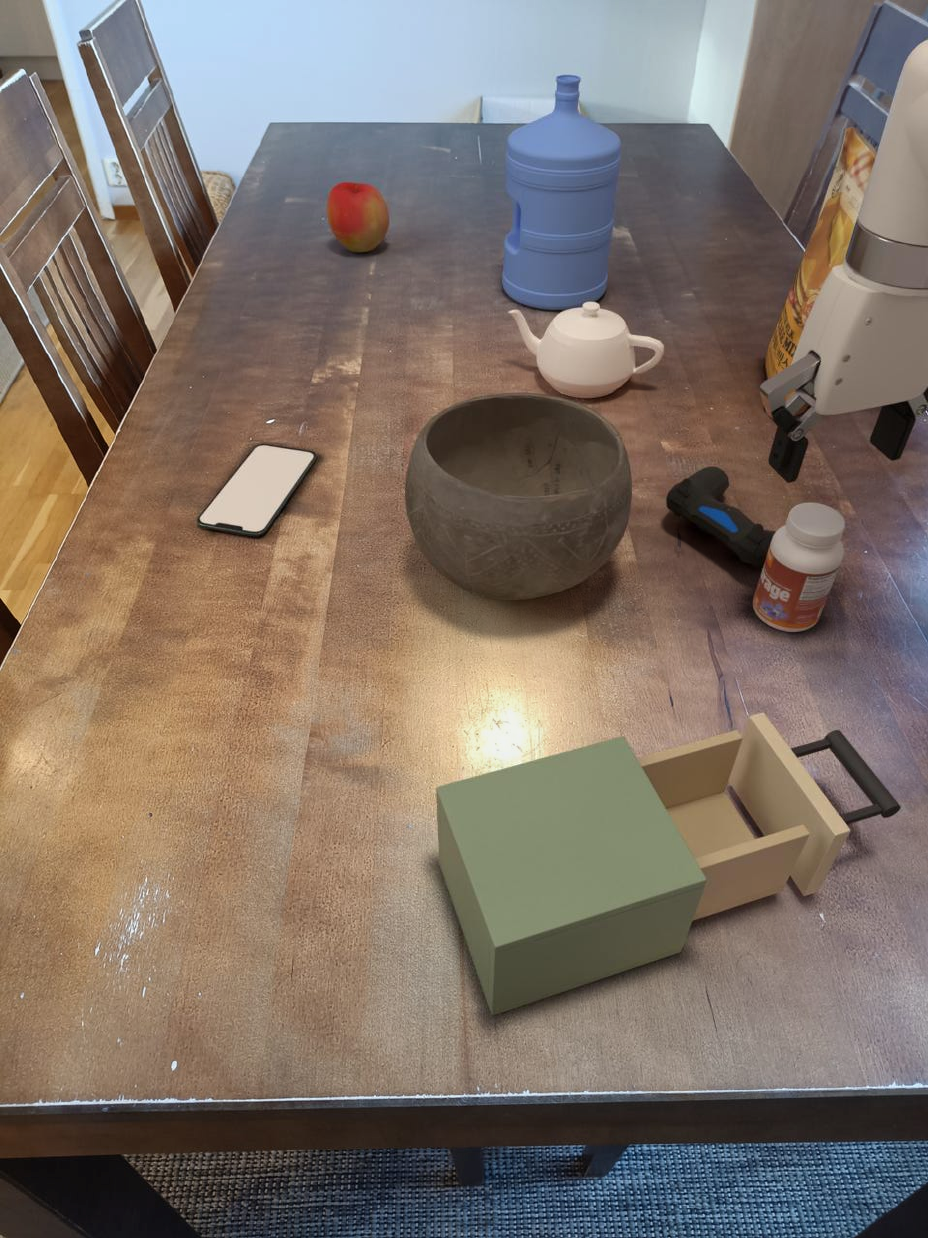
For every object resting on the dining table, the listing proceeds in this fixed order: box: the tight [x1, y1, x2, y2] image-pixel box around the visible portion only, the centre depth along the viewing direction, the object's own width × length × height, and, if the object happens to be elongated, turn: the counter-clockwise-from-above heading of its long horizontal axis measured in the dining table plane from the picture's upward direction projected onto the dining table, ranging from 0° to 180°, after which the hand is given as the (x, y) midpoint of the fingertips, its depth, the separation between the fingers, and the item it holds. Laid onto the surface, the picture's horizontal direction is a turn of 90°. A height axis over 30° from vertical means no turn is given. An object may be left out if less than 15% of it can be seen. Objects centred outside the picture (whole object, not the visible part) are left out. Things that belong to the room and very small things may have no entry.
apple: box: [326, 181, 390, 253], centre depth 143 cm, size 10×10×10 cm
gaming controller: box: [665, 466, 776, 571], centre depth 90 cm, size 17×6×10 cm
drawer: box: [636, 712, 902, 921], centre depth 63 cm, size 19×10×8 cm, turn 108°
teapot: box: [507, 301, 665, 399], centre depth 112 cm, size 20×12×10 cm, turn 70°
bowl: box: [404, 391, 633, 601], centre depth 84 cm, size 21×21×15 cm
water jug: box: [501, 74, 622, 311], centre depth 125 cm, size 16×16×28 cm
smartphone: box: [196, 443, 318, 537], centre depth 98 cm, size 8×1×16 cm
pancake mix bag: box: [765, 126, 877, 417], centre depth 105 cm, size 7×19×28 cm, turn 171°
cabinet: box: [435, 735, 707, 1016], centre depth 60 cm, size 14×12×10 cm
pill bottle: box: [752, 502, 846, 633], centre depth 81 cm, size 6×6×11 cm
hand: (833, 461), depth 73 cm, fingers open, 9 cm apart
